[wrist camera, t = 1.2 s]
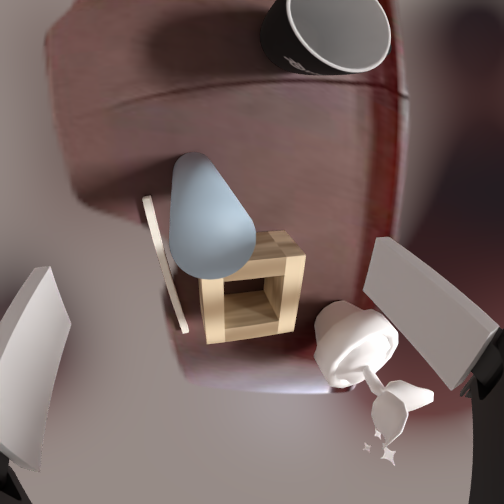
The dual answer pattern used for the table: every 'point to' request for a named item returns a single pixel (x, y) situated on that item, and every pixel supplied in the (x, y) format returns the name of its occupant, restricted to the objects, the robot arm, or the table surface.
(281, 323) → the wooden box
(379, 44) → the mug
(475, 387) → the robot arm
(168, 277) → the white thin rod
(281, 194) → the table surface
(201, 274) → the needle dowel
